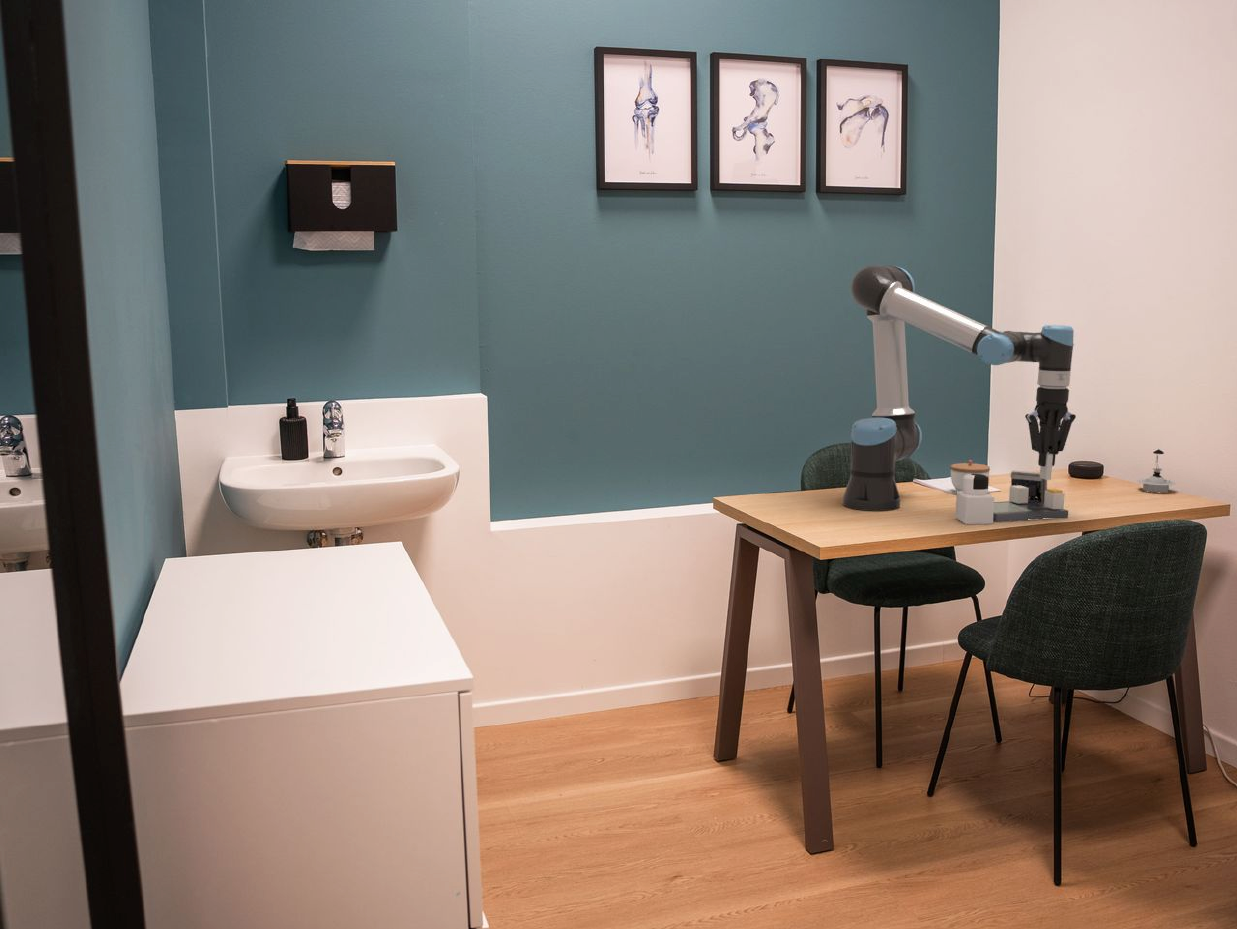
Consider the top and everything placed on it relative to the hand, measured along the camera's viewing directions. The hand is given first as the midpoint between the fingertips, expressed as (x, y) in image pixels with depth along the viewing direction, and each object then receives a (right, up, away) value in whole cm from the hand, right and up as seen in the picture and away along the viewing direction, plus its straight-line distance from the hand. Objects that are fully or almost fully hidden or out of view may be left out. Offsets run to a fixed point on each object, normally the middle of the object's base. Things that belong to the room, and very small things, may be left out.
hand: (1045, 478), depth 266 cm
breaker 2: (+3, -8, +1) cm, 8 cm away
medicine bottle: (-19, -11, -3) cm, 23 cm away
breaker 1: (-3, -6, +9) cm, 11 cm away
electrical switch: (+2, -7, +17) cm, 18 cm away
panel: (-6, -9, +4) cm, 12 cm away
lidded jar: (-8, -5, +34) cm, 35 cm away
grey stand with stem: (+46, -4, +34) cm, 57 cm away
